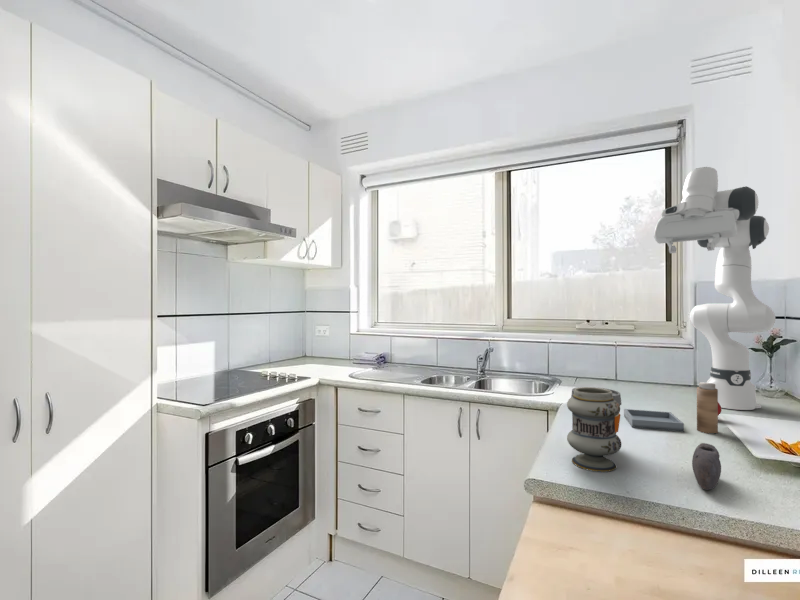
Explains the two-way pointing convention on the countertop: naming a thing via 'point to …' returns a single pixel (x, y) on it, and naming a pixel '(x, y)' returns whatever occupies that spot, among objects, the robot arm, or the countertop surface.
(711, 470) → the perforated stone tool
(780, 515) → the countertop surface
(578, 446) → the apothecary jar
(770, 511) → the countertop surface
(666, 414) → the tray
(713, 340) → the robot arm
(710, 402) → the pepper mill
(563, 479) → the countertop surface
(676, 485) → the countertop surface
